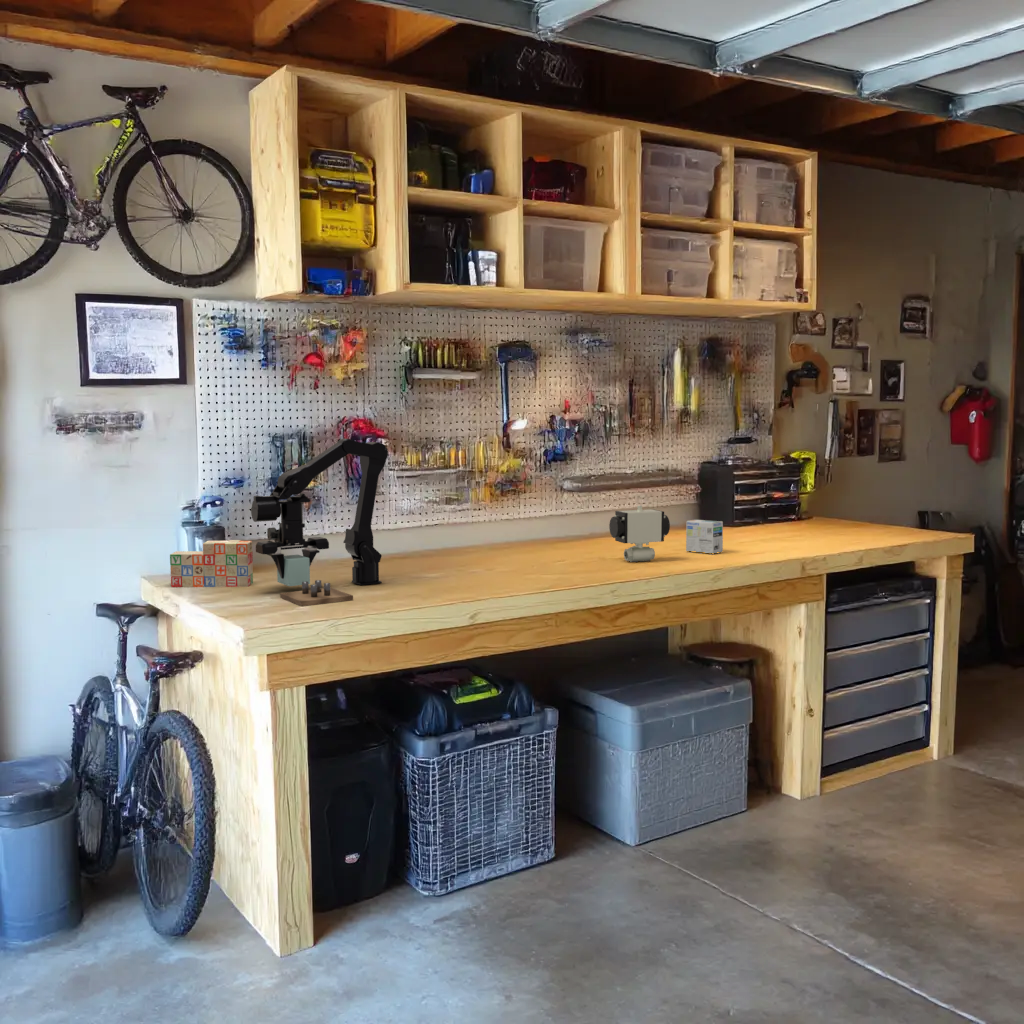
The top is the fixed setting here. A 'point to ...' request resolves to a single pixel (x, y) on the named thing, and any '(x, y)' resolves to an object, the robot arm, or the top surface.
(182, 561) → the stack of blocks
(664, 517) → the ball valve
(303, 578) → the teal block
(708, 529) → the light bulb box
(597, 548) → the top surface
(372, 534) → the robot arm
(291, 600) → the peg stand
